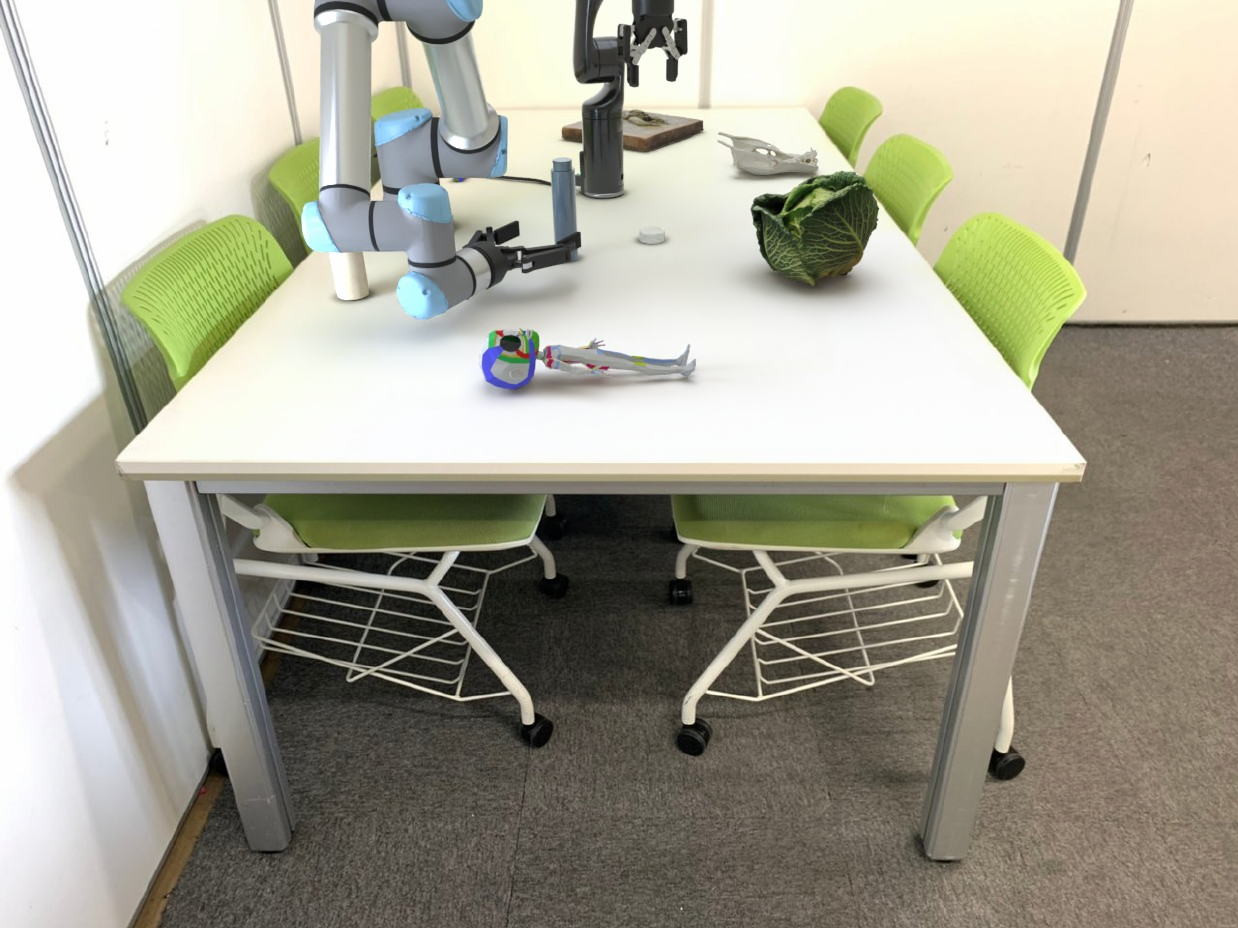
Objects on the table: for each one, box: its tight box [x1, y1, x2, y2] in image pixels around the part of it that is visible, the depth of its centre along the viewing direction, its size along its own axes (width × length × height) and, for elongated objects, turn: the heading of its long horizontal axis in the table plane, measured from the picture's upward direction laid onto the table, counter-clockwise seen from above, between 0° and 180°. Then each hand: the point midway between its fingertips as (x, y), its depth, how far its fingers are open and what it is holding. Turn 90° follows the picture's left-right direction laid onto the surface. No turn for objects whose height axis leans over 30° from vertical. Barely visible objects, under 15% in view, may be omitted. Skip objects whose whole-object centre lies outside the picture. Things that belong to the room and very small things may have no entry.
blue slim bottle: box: [550, 156, 579, 263], centre depth 167 cm, size 4×4×18 cm
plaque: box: [561, 108, 705, 152], centre depth 257 cm, size 30×7×30 cm
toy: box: [478, 328, 697, 391], centre depth 127 cm, size 10×8×30 cm
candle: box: [328, 252, 370, 301], centre depth 154 cm, size 6×6×10 cm
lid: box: [638, 226, 666, 245], centre depth 180 cm, size 5×5×2 cm
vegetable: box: [749, 170, 880, 287], centre depth 157 cm, size 20×19×20 cm
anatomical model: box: [716, 131, 820, 176], centre depth 220 cm, size 15×9×25 cm
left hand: (548, 233), depth 164 cm, fingers open, 13 cm apart
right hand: (652, 84), depth 165 cm, fingers open, 8 cm apart
